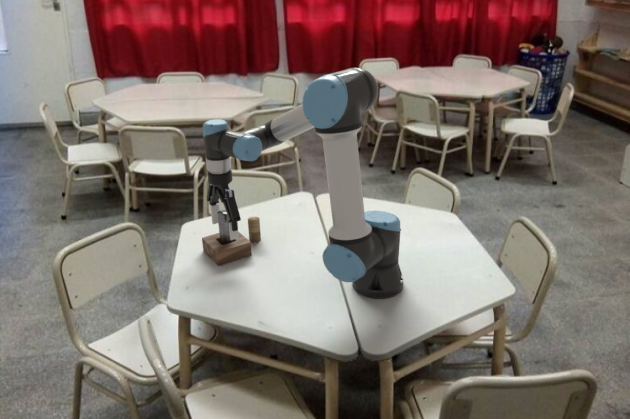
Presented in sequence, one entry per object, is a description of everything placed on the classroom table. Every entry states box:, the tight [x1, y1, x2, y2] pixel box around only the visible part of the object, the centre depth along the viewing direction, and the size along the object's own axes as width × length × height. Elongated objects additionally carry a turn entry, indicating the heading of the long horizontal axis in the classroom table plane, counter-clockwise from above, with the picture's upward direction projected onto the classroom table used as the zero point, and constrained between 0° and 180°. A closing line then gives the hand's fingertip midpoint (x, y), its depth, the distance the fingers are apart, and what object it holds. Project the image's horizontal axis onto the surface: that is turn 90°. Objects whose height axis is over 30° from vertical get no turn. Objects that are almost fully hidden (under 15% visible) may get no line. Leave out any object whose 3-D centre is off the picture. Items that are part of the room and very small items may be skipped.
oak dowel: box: [247, 216, 262, 244], centre depth 190 cm, size 4×4×8 cm
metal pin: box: [217, 209, 233, 245], centre depth 180 cm, size 4×4×14 cm
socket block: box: [201, 231, 253, 267], centre depth 182 cm, size 12×12×5 cm
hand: (225, 230), depth 179 cm, fingers open, 13 cm apart
